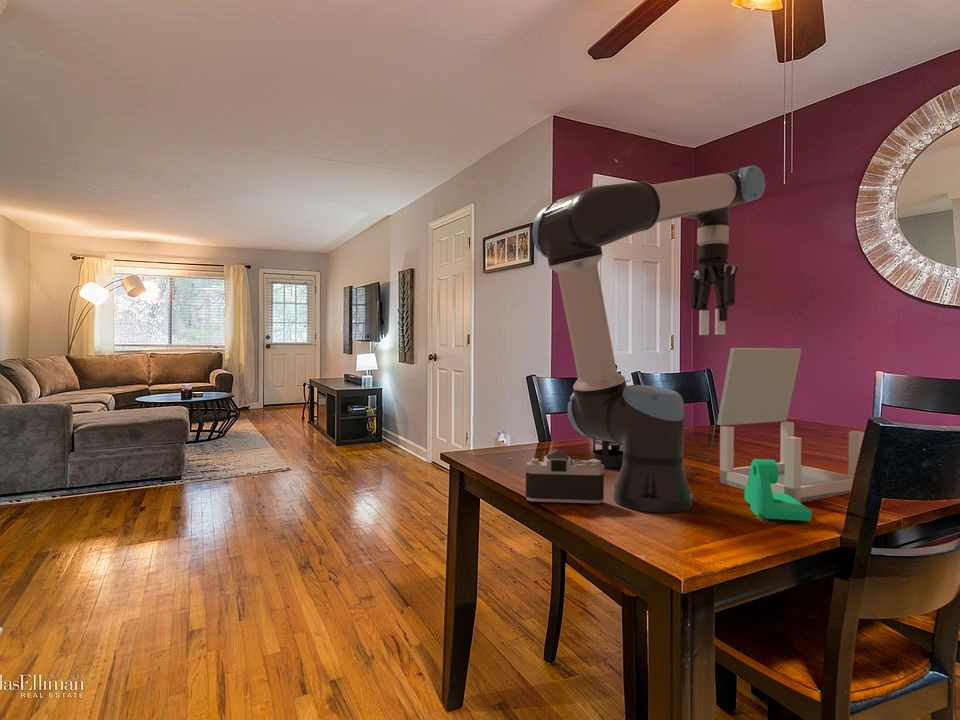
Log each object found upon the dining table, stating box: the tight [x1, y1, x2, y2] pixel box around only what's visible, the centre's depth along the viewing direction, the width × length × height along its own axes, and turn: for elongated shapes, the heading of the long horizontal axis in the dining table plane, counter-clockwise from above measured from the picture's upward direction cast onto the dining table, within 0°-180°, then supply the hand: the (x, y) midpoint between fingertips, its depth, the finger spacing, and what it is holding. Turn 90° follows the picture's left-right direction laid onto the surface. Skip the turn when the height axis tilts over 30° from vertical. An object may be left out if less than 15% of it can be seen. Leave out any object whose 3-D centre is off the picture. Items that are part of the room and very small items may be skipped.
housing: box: [719, 421, 865, 504], centre depth 115 cm, size 22×18×13 cm
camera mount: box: [744, 458, 812, 522], centre depth 96 cm, size 12×8×10 cm, turn 169°
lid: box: [716, 347, 802, 426], centre depth 122 cm, size 22×18×2 cm
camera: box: [525, 449, 606, 504], centre depth 107 cm, size 16×9×10 cm, turn 85°
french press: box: [592, 439, 623, 470], centre depth 138 cm, size 12×9×23 cm
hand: (711, 334), depth 135 cm, fingers open, 4 cm apart
